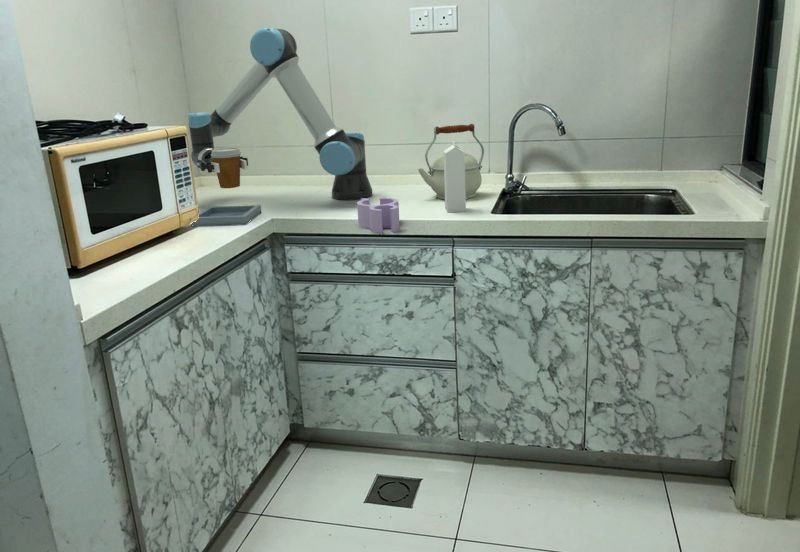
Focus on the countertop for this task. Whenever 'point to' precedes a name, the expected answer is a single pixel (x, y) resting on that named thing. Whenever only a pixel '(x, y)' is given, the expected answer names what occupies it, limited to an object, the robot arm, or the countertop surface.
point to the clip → (379, 214)
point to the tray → (227, 215)
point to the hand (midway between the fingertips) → (232, 166)
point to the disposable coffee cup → (228, 166)
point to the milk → (454, 179)
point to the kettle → (437, 171)
